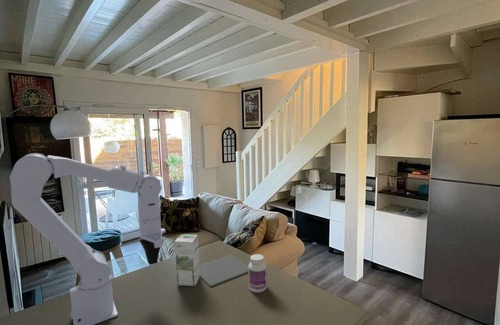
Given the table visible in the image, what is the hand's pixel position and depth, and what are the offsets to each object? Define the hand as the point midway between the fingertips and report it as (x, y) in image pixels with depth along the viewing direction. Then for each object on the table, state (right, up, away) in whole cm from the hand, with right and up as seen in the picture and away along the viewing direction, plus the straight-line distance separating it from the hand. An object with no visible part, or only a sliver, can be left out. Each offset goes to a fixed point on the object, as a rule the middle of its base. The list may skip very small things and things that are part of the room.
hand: (152, 263), depth 78 cm
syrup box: (+9, -9, +7) cm, 14 cm away
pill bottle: (+30, -9, +3) cm, 32 cm away
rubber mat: (+18, -7, +14) cm, 24 cm away
